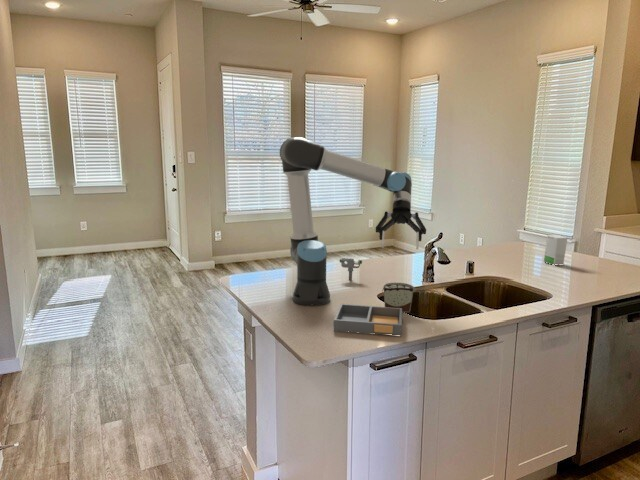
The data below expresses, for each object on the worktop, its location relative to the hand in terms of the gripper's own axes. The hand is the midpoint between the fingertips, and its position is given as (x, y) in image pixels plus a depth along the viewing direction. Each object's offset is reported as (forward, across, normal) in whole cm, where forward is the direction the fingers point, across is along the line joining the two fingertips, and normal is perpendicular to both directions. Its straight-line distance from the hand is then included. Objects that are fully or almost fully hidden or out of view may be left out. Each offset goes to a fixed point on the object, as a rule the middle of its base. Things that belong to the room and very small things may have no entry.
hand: (399, 246), depth 182 cm
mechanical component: (-2, +22, -34) cm, 40 cm away
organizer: (+36, +10, +5) cm, 38 cm away
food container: (+24, 0, -8) cm, 25 cm away
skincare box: (-41, -82, -74) cm, 118 cm away
